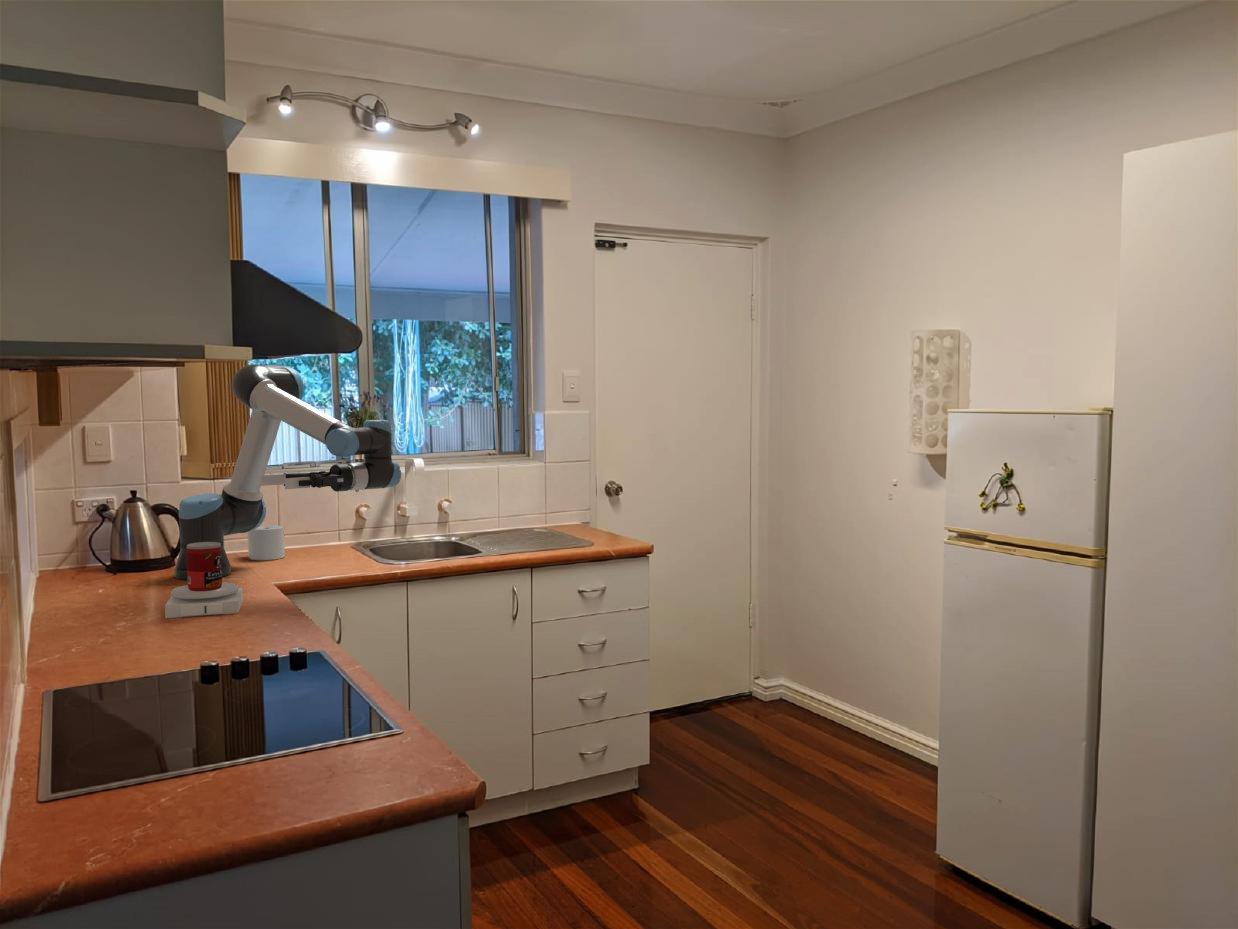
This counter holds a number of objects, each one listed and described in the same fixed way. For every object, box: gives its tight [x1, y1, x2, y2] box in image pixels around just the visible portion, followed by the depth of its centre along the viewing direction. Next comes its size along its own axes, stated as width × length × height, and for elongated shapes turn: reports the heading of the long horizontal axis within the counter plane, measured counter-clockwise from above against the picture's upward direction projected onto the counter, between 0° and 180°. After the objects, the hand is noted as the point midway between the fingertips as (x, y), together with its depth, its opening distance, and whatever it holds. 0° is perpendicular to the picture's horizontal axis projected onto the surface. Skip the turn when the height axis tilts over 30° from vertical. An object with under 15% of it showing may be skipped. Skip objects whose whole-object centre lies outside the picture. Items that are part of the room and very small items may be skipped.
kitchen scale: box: [164, 581, 244, 619], centre depth 228 cm, size 17×16×5 cm
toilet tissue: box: [247, 524, 286, 561], centre depth 301 cm, size 11×12×10 cm
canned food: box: [186, 542, 223, 591], centre depth 228 cm, size 8×8×11 cm
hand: (273, 482), depth 240 cm, fingers open, 13 cm apart
